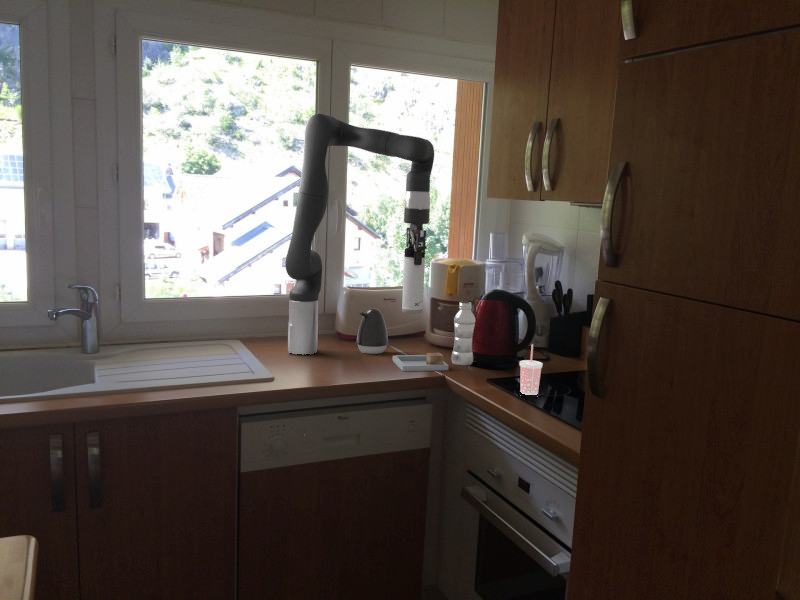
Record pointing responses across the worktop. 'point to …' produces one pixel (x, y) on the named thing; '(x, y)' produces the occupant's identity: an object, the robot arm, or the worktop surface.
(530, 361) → the beverage cup
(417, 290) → the travel mug
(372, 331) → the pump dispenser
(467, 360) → the plastic bottle
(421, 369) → the tray
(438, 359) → the walnut block
